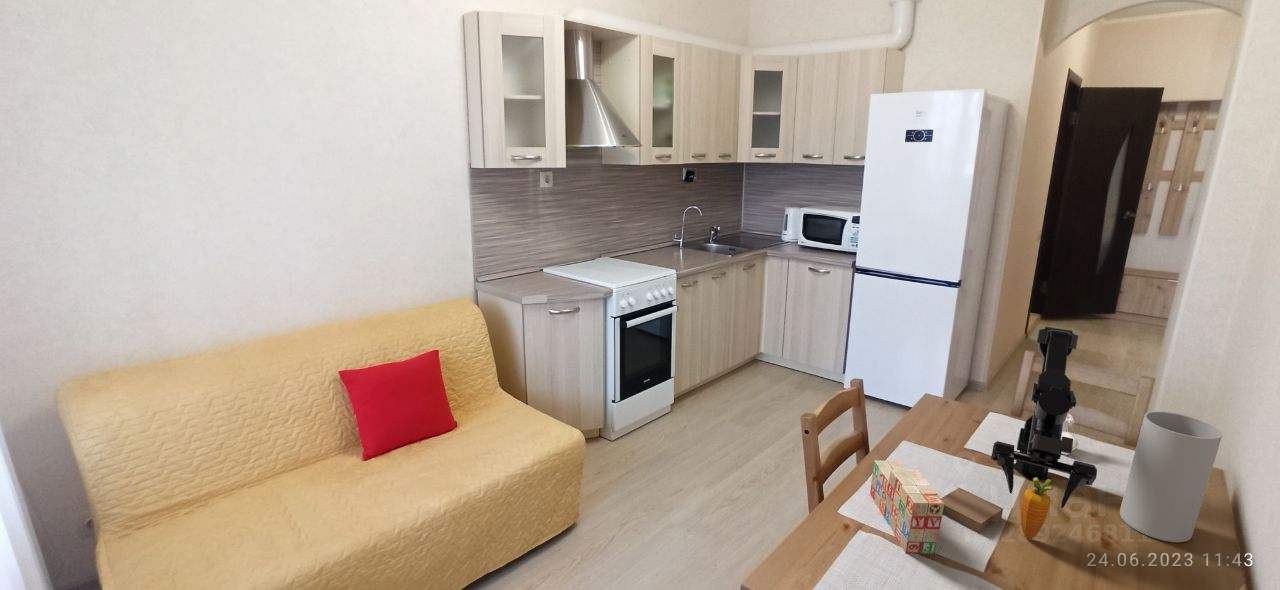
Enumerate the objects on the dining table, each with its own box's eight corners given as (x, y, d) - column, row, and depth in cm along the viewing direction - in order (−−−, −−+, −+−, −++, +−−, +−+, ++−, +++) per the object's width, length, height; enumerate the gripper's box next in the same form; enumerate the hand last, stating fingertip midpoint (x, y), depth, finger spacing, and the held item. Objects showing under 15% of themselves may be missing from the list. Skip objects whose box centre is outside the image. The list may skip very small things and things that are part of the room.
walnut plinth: (957, 496, 143) (959, 487, 143) (1001, 518, 135) (1003, 508, 135) (934, 510, 138) (936, 500, 137) (978, 533, 130) (980, 523, 129)
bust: (1074, 465, 163) (1099, 431, 163) (1062, 453, 160) (1087, 419, 160) (1033, 444, 174) (1056, 413, 174) (1021, 432, 171) (1044, 400, 171)
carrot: (1038, 535, 130) (1051, 473, 126) (1044, 549, 125) (1059, 486, 121) (1012, 530, 131) (1024, 469, 128) (1017, 543, 127) (1031, 481, 123)
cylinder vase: (1117, 527, 133) (1144, 425, 127) (1119, 502, 142) (1144, 406, 136) (1192, 552, 125) (1224, 445, 119) (1189, 524, 135) (1219, 423, 128)
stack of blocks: (868, 494, 144) (875, 448, 141) (894, 494, 144) (901, 448, 141) (905, 554, 123) (913, 501, 120) (936, 555, 123) (945, 502, 120)
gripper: (1000, 407, 132) (988, 474, 126) (1105, 431, 122) (1098, 504, 116) (996, 426, 140) (985, 490, 134) (1094, 450, 130) (1087, 519, 124)
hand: (1036, 500), depth 127 cm, fingers open, 9 cm apart
